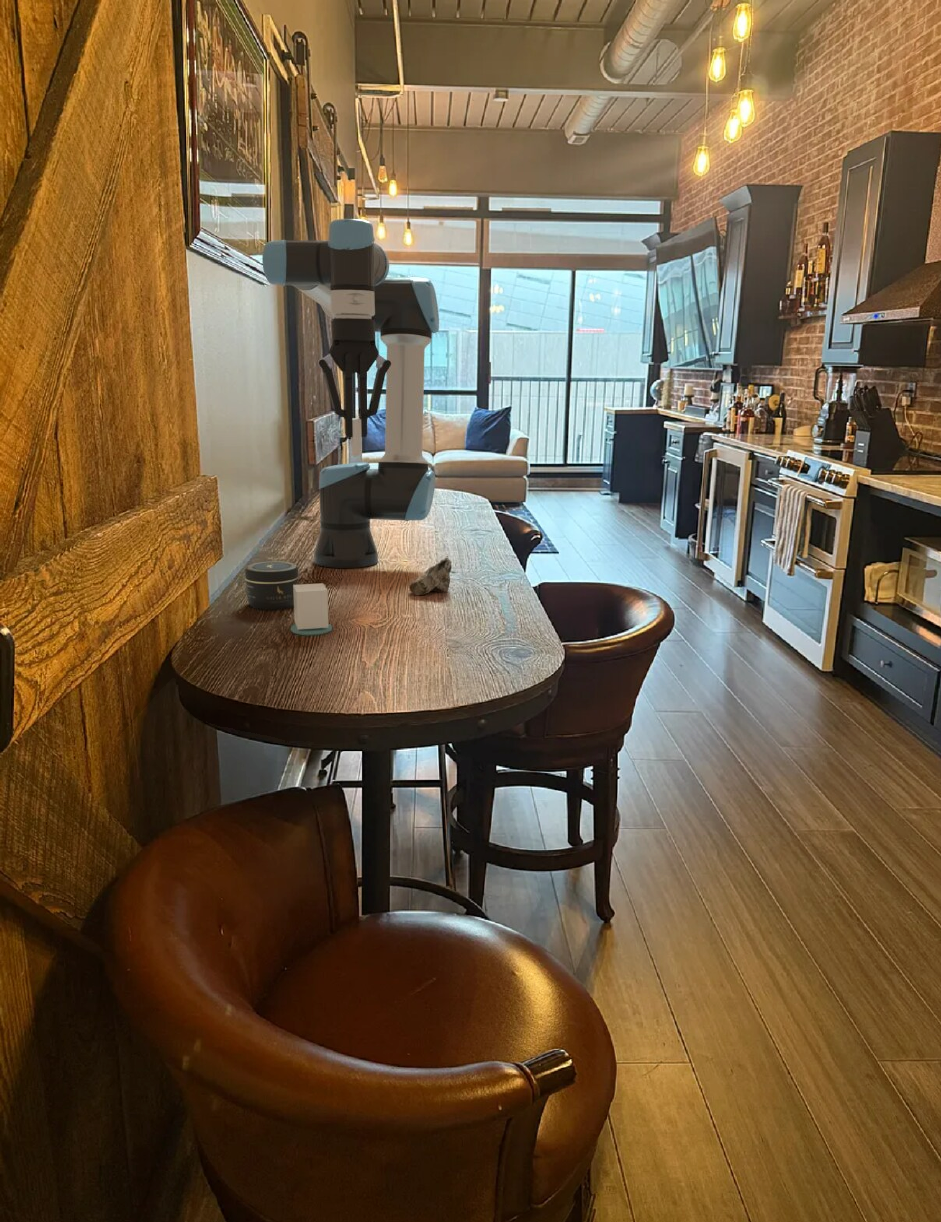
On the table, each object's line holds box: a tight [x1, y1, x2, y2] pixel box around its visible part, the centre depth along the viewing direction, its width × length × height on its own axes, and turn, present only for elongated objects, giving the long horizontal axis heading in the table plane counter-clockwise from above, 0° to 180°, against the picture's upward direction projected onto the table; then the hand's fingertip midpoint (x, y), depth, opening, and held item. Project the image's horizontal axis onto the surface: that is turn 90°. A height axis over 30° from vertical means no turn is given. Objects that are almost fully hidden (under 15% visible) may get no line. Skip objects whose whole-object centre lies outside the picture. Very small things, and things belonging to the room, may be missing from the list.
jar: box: [244, 560, 299, 611], centre depth 164 cm, size 10×10×8 cm
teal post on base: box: [290, 622, 333, 636], centre depth 148 cm, size 7×7×7 cm
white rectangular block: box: [293, 582, 329, 629], centre depth 148 cm, size 5×5×7 cm
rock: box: [408, 555, 452, 596], centre depth 176 cm, size 9×7×10 cm
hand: (356, 455), depth 154 cm, fingers closed
